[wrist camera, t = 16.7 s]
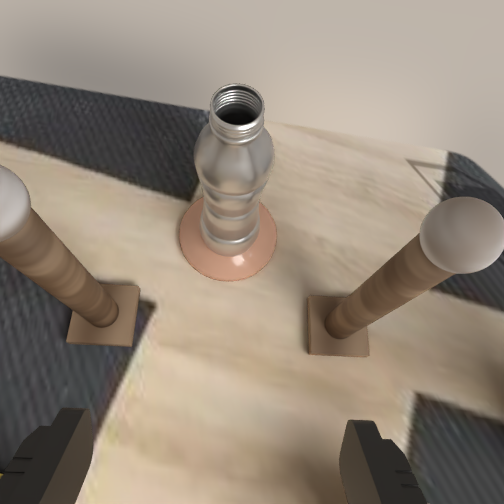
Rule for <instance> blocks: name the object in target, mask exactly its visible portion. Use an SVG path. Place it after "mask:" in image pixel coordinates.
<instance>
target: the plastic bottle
mask: <svg viewBox="0 0 504 504" xmlns="http://www.w3.org/2000/svg"><path fill="white" fill-rule="evenodd" d="M264 110H265V108H264V101H263V98H262V96H261V95H260V94H259V93H258V91H256V90H255V89H254V88H252V87H250V86H247V85H245V84H229V85H225V86H223V87H221V88H219V89H218V90H217V91H216V92H215V93H214V94H213V96H212V99H211V104H210V115H209V123H208V124H207V125H206V126H205V127H204V128H203V130H202V131H201V132H200V134H199V136H198V139H197V141H196V144H195V148H194V161H195V166H196V171H197V174H198V177H199V180H200V183H201V186H202V191H203V198H204V202H203V210H202V212H201V217H200V223H199V229H200V233H201V236H202V238H203V240H204V242H205V244H206V245H207V247H208V248H209V249H210V250H211V251H213V252H214V253H216V254H218V255H221V256H226V257H233V256H237V255H240V254H242V253H244V252H246V251H247V250H248V249H249V248H250V247H251V246H252V245H253V243H254V242H255V240H256V239H257V237H258V234H259V231H260V215H259V201H260V197H261V194H262V191H263V189H264V186H265V184H266V182H267V180H268V178H269V176H270V174H271V171H272V168H273V165H274V160H275V151H274V146H273V142H272V139H271V136H270V134H269V133H268V131H267V130H266V129H265V128H264Z"/></svg>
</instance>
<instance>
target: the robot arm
mask: <svg viewBox="0 0 504 504" xmlns="http://www.w3.org/2000/svg"><path fill="white" fill-rule="evenodd" d="M92 455H93V436H92V425H91V415H90V410H89V409H85V408H62V409H61V410H60V411H59V413H58V414H57V416H56V418H55V420H54V421H53V423H52V425H51V426H39V427H38V428H37V429H36V430H35V431H34V432H33V433H31V434H30V435H29V436H28V437H27V438H26V439H25V440H24V441H23V442H22V444H21V445H20V447H19V449H18V450H17V452H16V453H15V455H14V457H13V460H12V461H11V462H10V463H9V465H8V466H7V468H6V470H5V471H4V475H2V476H1V478H0V504H75V502H76V500H77V497H78V495H79V492H80V490H81V487H82V485H83V482H84V480H85V477H86V475H87V472H88V470H89V467H90V464H91V460H92ZM339 466H340V474H341V478H342V482H343V486H344V489H345V493H346V497H347V501H348V504H427V502H426V500H425V498H424V496H423V493H422V491H421V489H420V488H419V487H418V483H417V480H416V478H415V476H414V474H412V470H411V467H410V465H409V463H408V461H407V459H406V457H405V454H404V453H403V452H402V451H401V450H400V449H399V448H398V447H397V445H396V444H395V443H394V442H393V441H392V440H391V439H382V438H381V436H380V433H379V431H378V429H377V426H376V424H375V423H374V421H369V420H348V422H347V425H346V430H345V434H344V438H343V443H342V447H341V451H340V458H339Z"/></svg>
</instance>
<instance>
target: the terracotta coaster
mask: <svg viewBox="0 0 504 504" xmlns="http://www.w3.org/2000/svg"><path fill="white" fill-rule="evenodd" d="M203 202H204V198H203V197H202V198H200V199H199V200H197V201H196V202H195V203H194V204H192V205H191V207H190V208H189V209H188V210H187V212H186V213H185V215H184V217H183V219H182V222H181V225H180V231H179V237H180V244H181V248H182V251H183V254H184V256H185V258H186V259H187V261H188V262H189V263H190V265H191V266H192V267H193V268H194V269H195V270H197V271H198V272H200V273H201V274H203V275H205V276H206V277H209V278H212V279H215V280H219V281H238V280H242V279H246V278H248V277H251V276H253V275H254V274H256V273H257V272H259V271H260V270H261V269H262V268H263V267H264V266H265V265H266V264H267V263H268V262H269V260H270V258H271V257H272V254H273V252H274V249H275V246H276V240H277V231H276V226H275V223H274V220H273V218H272V216H271V214H270V213H269V211H268V210H267V209H266V208H265V207H264V205H262V204H261V203H260V202H259V215H260V231H259V234H258V237H257V239H256V240H255V242H254V243H253V245H252V246H251V247H250V248H249V249H248V250H247V251H246V252H244V253H242V254H240V255H237V256H233V257H226V256H221V255H218V254H216V253H214V252H213V251H211V250H210V249H209V248H208V247H207V245H206V244H205V242H204V240H203V238H202V236H201V233H200V229H199V223H200V217H201V212H202V210H203Z"/></svg>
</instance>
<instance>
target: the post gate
mask: <svg viewBox="0 0 504 504" xmlns="http://www.w3.org/2000/svg"><path fill="white" fill-rule="evenodd" d="M503 249H504V220H503V218H502V216H501V215H500V213H499V212H498V211H497V210H496V209H495V208H494V207H493V206H492V205H490V204H489V203H487V202H485V201H483V200H480V199H477V198H472V197H456V198H451V199H448V200H445V201H443V202H441V203H439V204H438V205H436V206H435V207H434V208H433V209H431V210H430V212H429V213H428V214H427V215H426V217H425V218H424V220H423V222H422V225H421V228H420V233H419V234H418V235H417V236H416V237H414V238H413V239H412V240H411V241H410V242H409V243H408V244H407V245H405V246H404V247H403V248H402V249H401V250H400V251H399V252H398V253H397V254H395V255H394V256H393V257H392V258H391V259H390V260H389V261H388V262H386V263H385V264H384V265H383V266H382V267H381V268H380V269H379V270H377V271H376V272H375V273H374V274H373V275H372V276H371V277H370V278H369V279H367V280H366V281H365V282H364V283H363V284H362V285H361V286H360V287H358V288H357V289H356V290H355V291H354V292H353V293H352V294H351V295H350V296H348V297H347V298H346V297H328V296H309V297H308V298H307V305H308V344H309V355H327V356H349V357H367V356H370V355H369V343H368V331H367V326H368V325H369V324H371V323H373V322H374V321H376V320H378V319H379V318H381V317H383V316H384V315H386V314H388V313H390V312H391V311H393V310H395V309H396V308H398V307H400V306H401V305H403V304H405V303H406V302H408V301H410V300H412V299H413V298H415V297H417V296H418V295H420V294H422V293H423V292H425V291H427V290H429V289H430V288H432V287H434V286H435V285H437V284H439V283H440V282H442V281H444V280H445V279H447V278H449V277H451V276H452V275H454V274H456V273H472V272H476V271H479V270H482V269H484V268H486V267H488V266H489V265H490V264H492V263H493V262H494V261H495V260H496V259H497V258H498V257H499V256H500V254H501V253H502V251H503ZM0 257H1V258H2V259H4V260H5V261H6V262H8V263H9V264H11V265H12V266H13V267H15V268H16V269H17V270H19V271H20V272H21V273H23V274H24V275H26V276H27V277H28V278H30V279H31V280H32V281H34V282H35V283H36V284H38V285H39V286H40V287H42V288H43V289H45V290H46V291H47V292H49V293H50V294H51V295H53V296H54V297H55V298H57V299H58V300H59V301H61V302H62V303H64V304H65V305H66V306H68V307H69V308H70V309H72V310H73V312H72V317H71V321H70V326H69V331H68V335H67V340H66V342H67V343H70V344H83V345H105V346H128V347H132V342H133V336H134V329H135V322H136V316H137V309H138V303H139V296H140V288H139V286H131V285H113V284H99V283H98V282H97V281H96V280H95V279H94V278H93V276H92V275H91V274H90V273H89V272H88V271H87V270H86V269H85V267H84V266H83V265H82V264H81V263H80V262H79V261H78V260H77V258H76V257H75V256H74V255H73V254H72V253H71V252H70V250H69V249H68V248H67V247H66V246H65V245H64V244H63V243H62V241H61V240H60V239H59V238H58V237H57V236H56V235H55V234H54V232H53V231H52V230H51V229H50V228H49V227H48V226H47V225H46V223H45V222H44V221H43V220H42V219H41V218H40V217H39V215H38V214H37V213H36V212H35V211H34V210H33V209H32V208H31V201H30V196H29V192H28V190H27V188H26V186H25V185H24V183H23V182H22V180H21V179H20V178H19V177H18V176H17V175H16V174H15V173H13V172H12V171H11V170H9V169H7V168H6V167H4V166H2V165H0Z"/></svg>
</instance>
